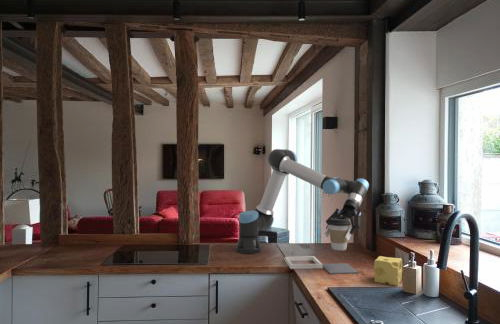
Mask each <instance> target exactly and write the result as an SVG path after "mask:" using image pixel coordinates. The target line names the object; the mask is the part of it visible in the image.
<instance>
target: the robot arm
mask: <svg viewBox="0 0 500 324" xmlns="http://www.w3.org/2000/svg"><path fill="white" fill-rule="evenodd" d="M297 157H298V156H297V155H296V153H295V152H294V151H292V150H290V149H279V148H276V149H273V150H271V151H270V152H269V154H268V156H267V163H268V165H269V167H271V169H272V172H271V175H270V177H269V179H268V182H267V185H266V188H265V190H264V192H263V196H262V198H261V201H260V202H259V203H260V204H258V205H256V207H255V210H245V211H242V212H240V213H239V215H238V239H237V242H236V243H237V244H236V246H235V252H237V253H241V254H257V253H260V252H261V251H262V246H261V243H260V240H259V231H263V230H268V229H269V228H270V227H272V225H273V223H274V220H275V218H274V210H273V209H274V207H275V204H276V202H277V199H278V196H279V194H280V192H281V189H282V187H283V183H284V181H285V178H286V176H288V175H292V176H293V177H295V178H298V179H300V180H302V181H304V182H306V183H308V184H311V185H312V186H314V187H317V188H318V189H320V190H323V191H324V193H326V194H327V195H336V194H341V193H342V194H347V198H346V200H345V201H344V203H343V207H342V209H339V208H336V209H335V211H334V212H333V213H332V214H331V215H330V216H329V217H328V218H326V220H325V222H326V224H327V225H326V227H325V231H324V233H323V234H324V235H325V237H326V238H328V237H329V236H330V232H329V224H328V221H329V220H330V218H347V219H349V222H350V224H351V225H350V226H349V230H348V232H347V234H346V236H345V238H346V239H347V240H348V241H349V240H350V238H351V236H352V235H353V234H354V233H355V231H356V230H360V229H361V216H362V213H361V211H360V210H359V208H360V207H361V204H362V202H363V200H364V198H365V196H366V194H367V192H368V190H369V186H370V184H369V182H368V181H367V179H364V178H357V179H356V180H355V181H354V180H349V179H344V178H341V177H337V176H336V177H335V176H334V177H333V178H332V177H330V176H327V175H325V174H323V173H321V172H319V171H317V170H314V169H313V168H310V167H308V166H306V165H305V164H302V163H299V162H298V158H297ZM354 216H355V220H354Z"/></svg>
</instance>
